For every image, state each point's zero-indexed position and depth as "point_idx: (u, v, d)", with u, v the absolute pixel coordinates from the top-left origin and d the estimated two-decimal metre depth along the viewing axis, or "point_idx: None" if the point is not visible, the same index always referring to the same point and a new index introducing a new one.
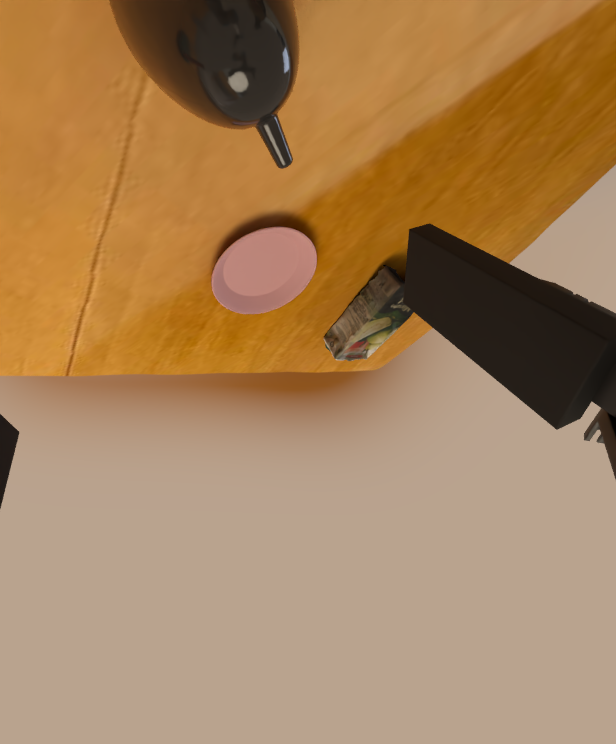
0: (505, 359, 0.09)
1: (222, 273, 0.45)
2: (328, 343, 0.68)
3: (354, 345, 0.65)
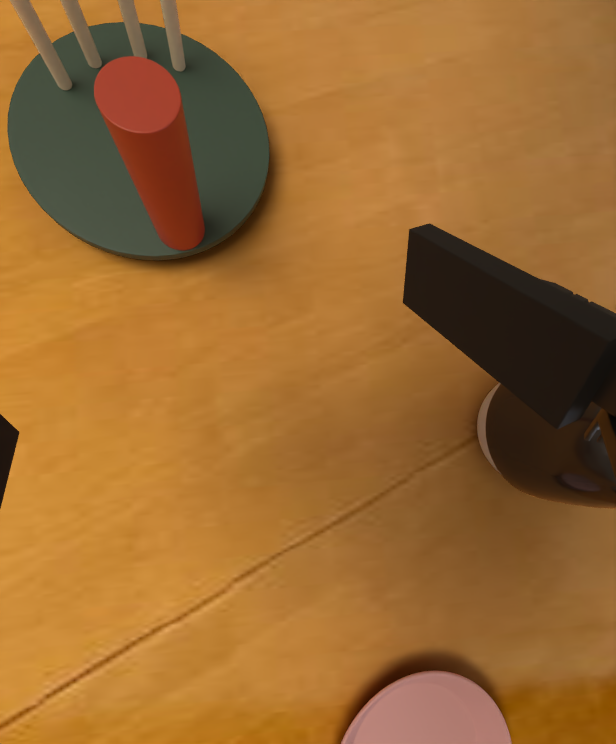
0: (505, 358, 0.09)
1: (362, 720, 0.27)
2: None
3: None
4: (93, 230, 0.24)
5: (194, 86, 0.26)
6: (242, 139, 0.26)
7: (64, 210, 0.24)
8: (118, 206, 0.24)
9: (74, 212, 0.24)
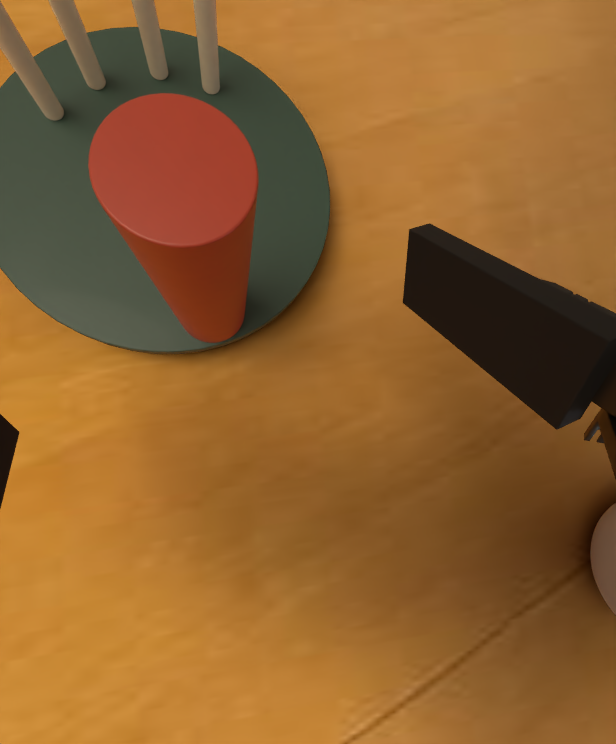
0: (505, 358, 0.09)
1: None
2: None
3: None
4: (90, 318, 0.17)
5: (231, 114, 0.19)
6: (294, 186, 0.19)
7: (48, 290, 0.17)
8: (125, 282, 0.17)
9: (63, 293, 0.17)
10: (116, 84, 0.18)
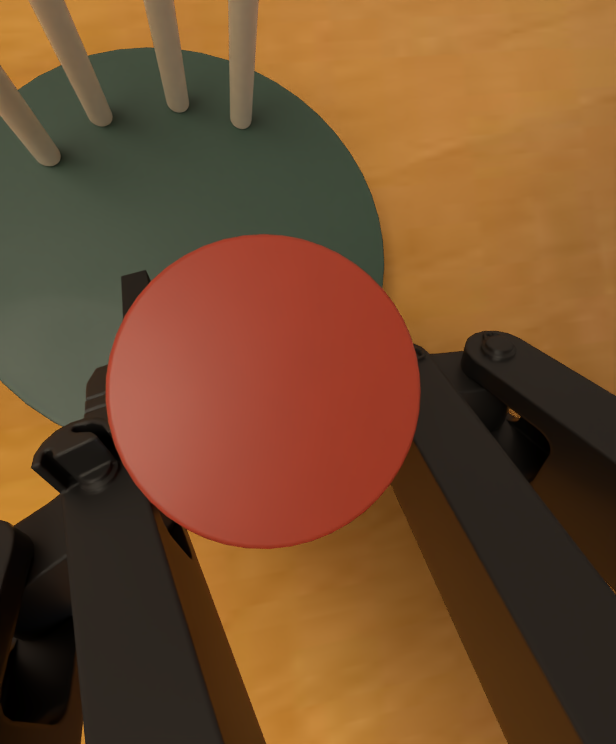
0: None
1: None
2: None
3: None
4: None
5: (265, 153, 0.16)
6: (342, 239, 0.16)
7: (41, 383, 0.13)
8: None
9: (60, 385, 0.13)
10: (125, 119, 0.15)
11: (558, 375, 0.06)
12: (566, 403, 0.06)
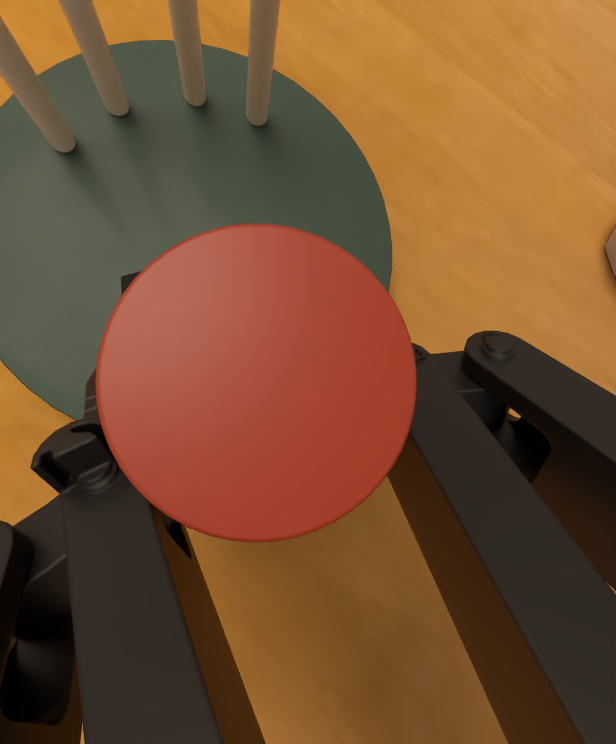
0: None
1: None
2: None
3: None
4: None
5: (279, 151, 0.16)
6: (351, 241, 0.16)
7: (42, 367, 0.13)
8: None
9: (61, 371, 0.13)
10: (141, 110, 0.15)
11: (559, 375, 0.06)
12: (566, 403, 0.06)
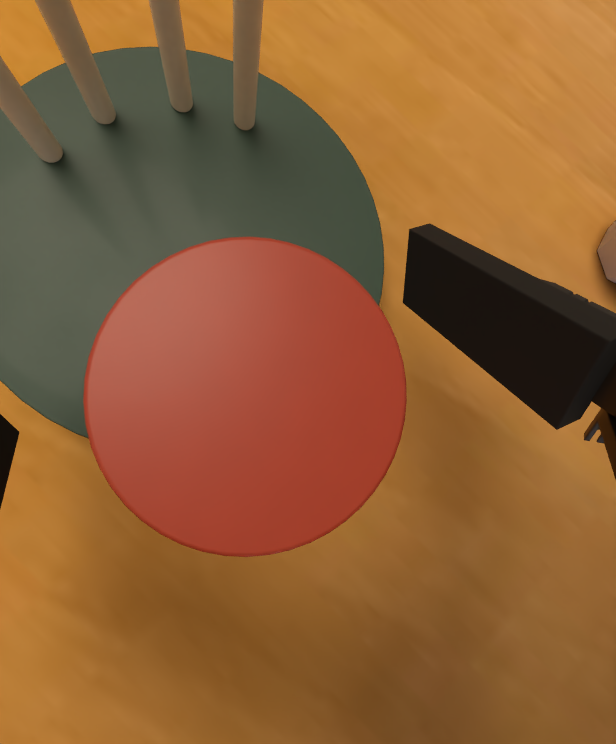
0: (506, 358, 0.09)
1: None
2: None
3: None
4: None
5: (268, 155, 0.16)
6: (342, 242, 0.16)
7: (37, 379, 0.13)
8: None
9: (55, 382, 0.13)
10: (128, 118, 0.15)
11: None
12: None
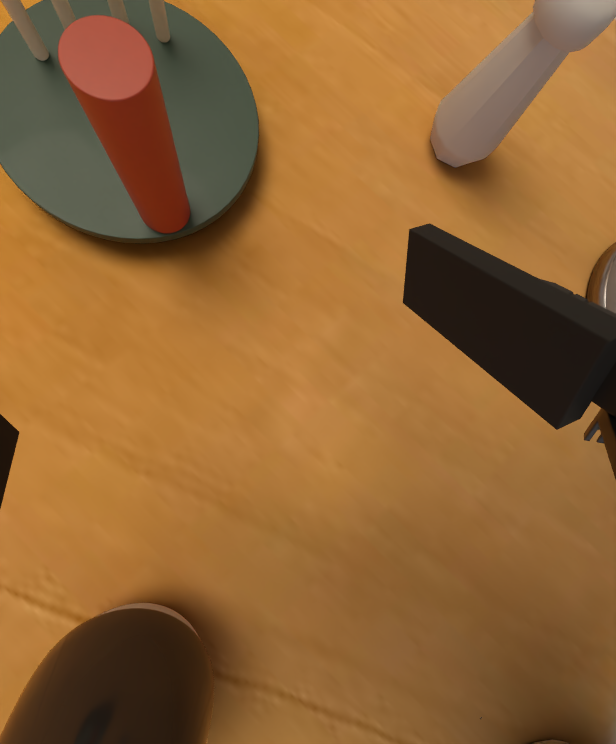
0: (505, 358, 0.09)
1: None
2: None
3: None
4: (72, 210, 0.23)
5: (179, 59, 0.25)
6: (230, 116, 0.25)
7: (40, 189, 0.22)
8: (98, 185, 0.23)
9: (52, 191, 0.23)
10: None
11: None
12: None
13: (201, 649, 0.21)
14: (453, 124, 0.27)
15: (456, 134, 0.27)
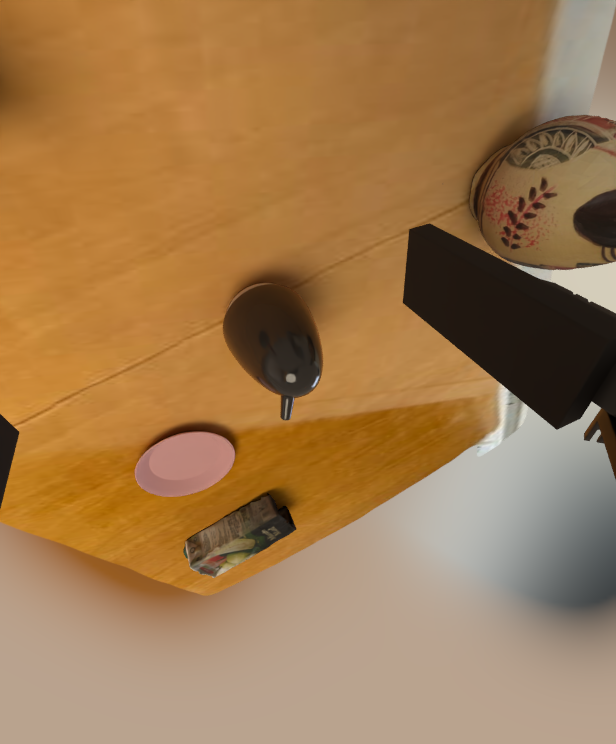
0: (505, 358, 0.09)
1: (154, 449, 0.51)
2: (189, 548, 0.68)
3: (214, 558, 0.67)
4: None
5: None
6: None
7: None
8: None
9: None
10: None
11: None
12: None
13: (276, 286, 0.39)
14: None
15: None
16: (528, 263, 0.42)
